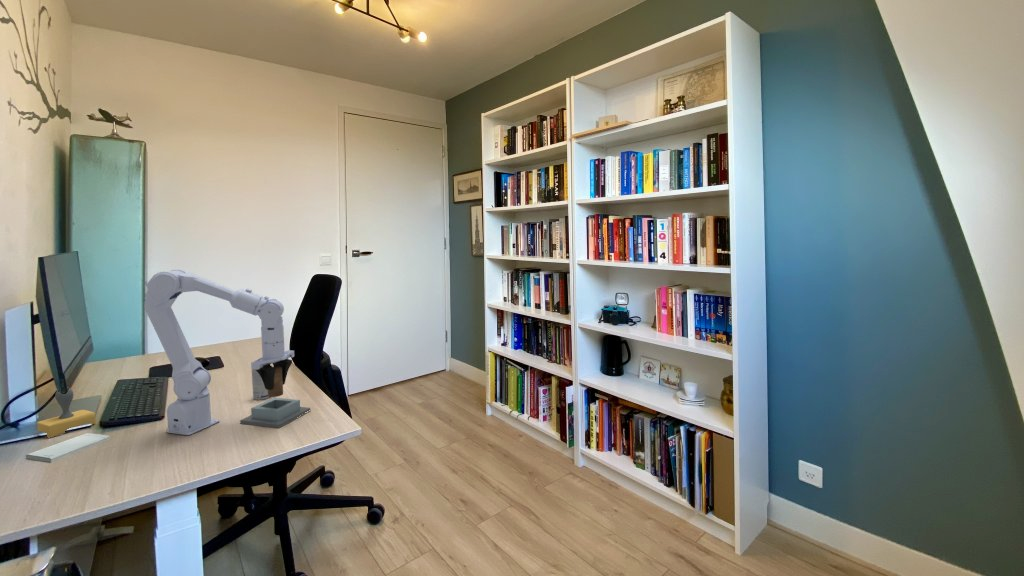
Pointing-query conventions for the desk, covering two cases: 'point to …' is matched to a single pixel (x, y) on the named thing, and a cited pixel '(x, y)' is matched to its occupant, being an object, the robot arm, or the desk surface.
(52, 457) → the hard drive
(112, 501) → the desk surface
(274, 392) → the walnut pin
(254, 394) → the energy drink
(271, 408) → the socket block
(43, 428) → the rubber stamp
